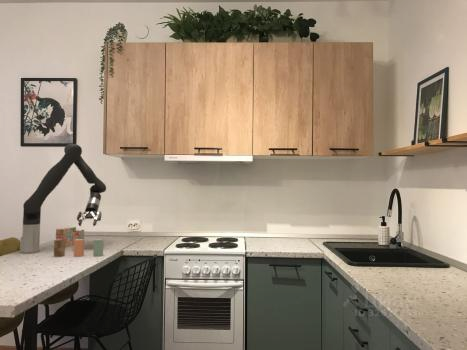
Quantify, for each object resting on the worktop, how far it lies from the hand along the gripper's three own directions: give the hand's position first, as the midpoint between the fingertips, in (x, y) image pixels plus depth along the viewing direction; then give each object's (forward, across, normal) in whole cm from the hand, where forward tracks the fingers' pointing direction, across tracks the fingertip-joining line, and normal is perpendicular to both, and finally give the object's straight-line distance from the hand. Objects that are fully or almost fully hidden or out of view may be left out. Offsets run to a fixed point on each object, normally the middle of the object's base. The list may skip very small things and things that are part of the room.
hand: (86, 225), depth 202 cm
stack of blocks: (-7, -19, +31) cm, 37 cm away
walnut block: (+20, -11, +3) cm, 24 cm away
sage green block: (+21, +11, +3) cm, 24 cm away
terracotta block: (+21, 0, +3) cm, 21 cm away
